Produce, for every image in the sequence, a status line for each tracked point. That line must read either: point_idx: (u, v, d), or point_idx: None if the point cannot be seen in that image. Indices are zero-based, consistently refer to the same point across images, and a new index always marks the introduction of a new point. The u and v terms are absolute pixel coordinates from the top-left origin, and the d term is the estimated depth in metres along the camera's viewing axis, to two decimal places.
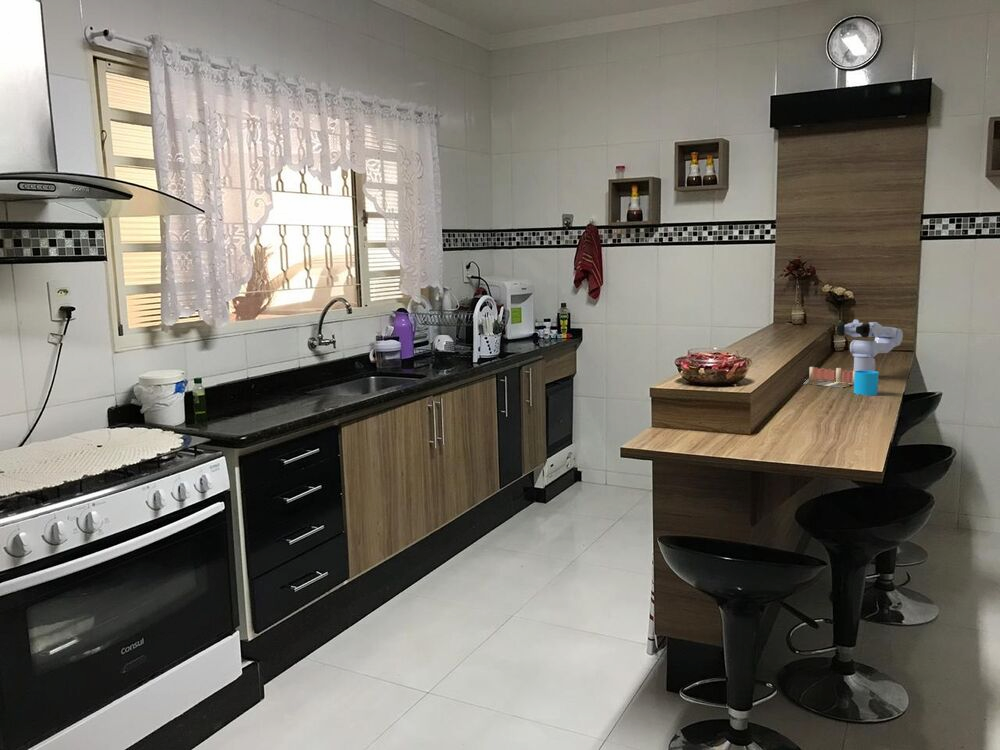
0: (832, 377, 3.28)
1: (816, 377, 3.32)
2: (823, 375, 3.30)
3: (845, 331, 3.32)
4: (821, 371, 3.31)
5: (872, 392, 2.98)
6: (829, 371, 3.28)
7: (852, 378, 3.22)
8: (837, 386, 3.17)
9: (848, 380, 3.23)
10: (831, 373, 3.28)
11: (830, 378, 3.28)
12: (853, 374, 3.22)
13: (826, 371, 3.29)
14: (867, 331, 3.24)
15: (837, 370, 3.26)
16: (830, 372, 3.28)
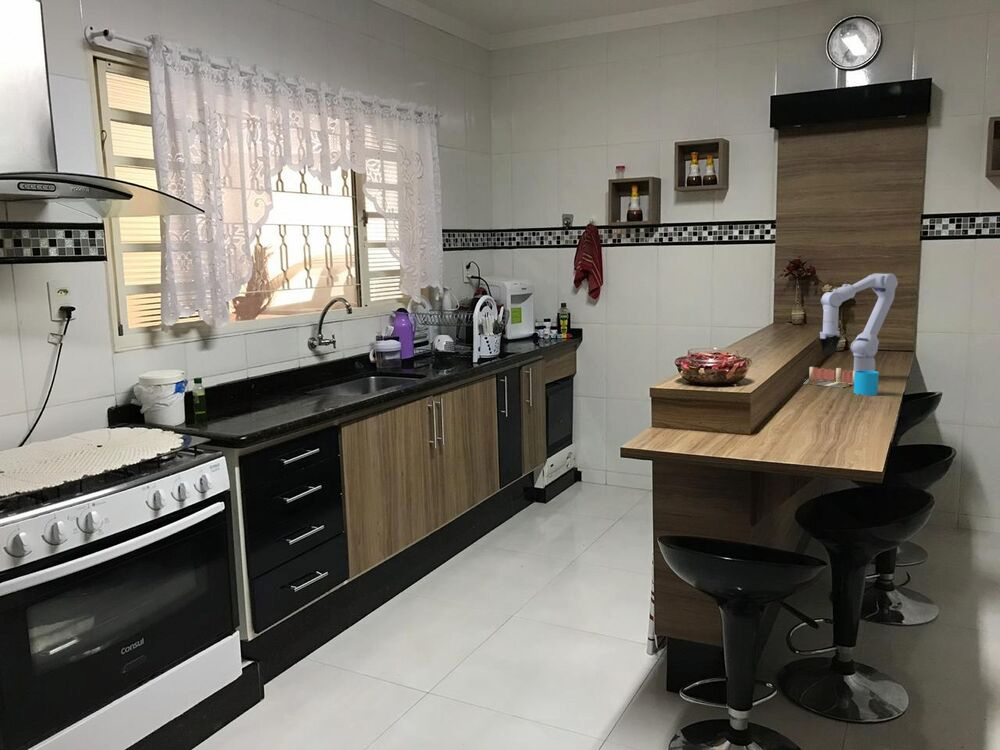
0: (832, 377, 3.28)
1: (816, 377, 3.32)
2: (823, 375, 3.30)
3: None
4: (821, 371, 3.31)
5: (872, 392, 2.98)
6: (829, 371, 3.28)
7: (852, 378, 3.22)
8: (837, 386, 3.17)
9: (848, 380, 3.23)
10: (831, 373, 3.28)
11: (830, 378, 3.28)
12: (853, 374, 3.22)
13: (826, 371, 3.29)
14: (826, 340, 3.29)
15: (837, 370, 3.26)
16: (830, 372, 3.28)
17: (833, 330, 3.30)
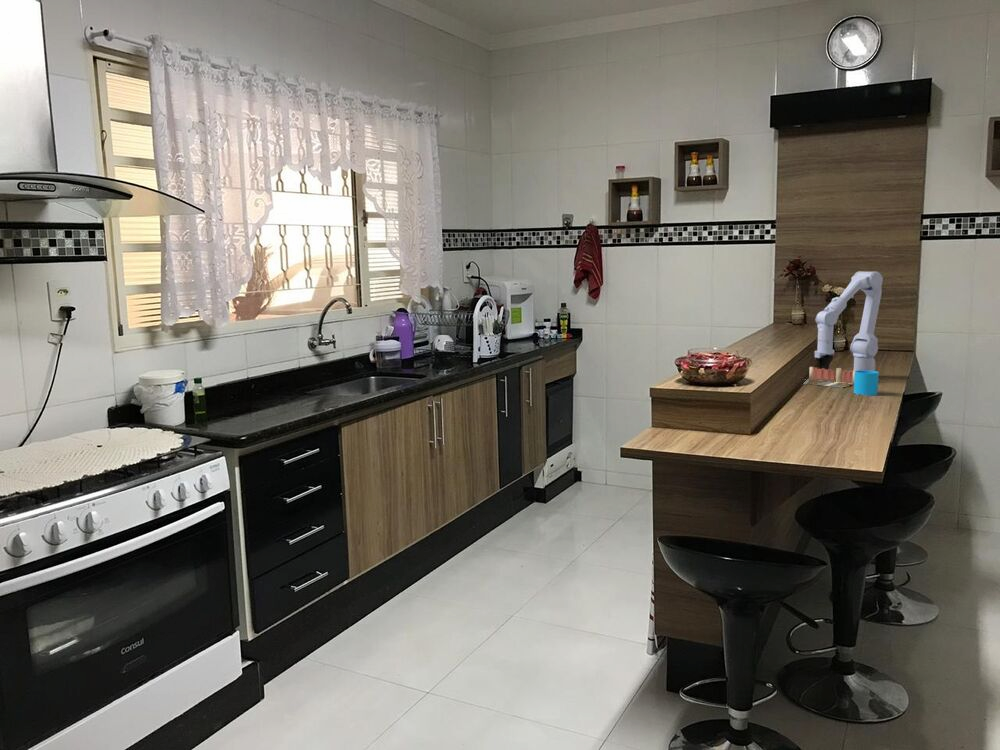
0: (832, 377, 3.28)
1: (816, 377, 3.32)
2: (823, 375, 3.30)
3: None
4: (821, 371, 3.31)
5: (872, 392, 2.98)
6: (829, 371, 3.28)
7: (852, 378, 3.22)
8: (837, 386, 3.17)
9: (848, 380, 3.23)
10: (831, 373, 3.28)
11: (830, 378, 3.28)
12: (853, 374, 3.22)
13: (826, 371, 3.29)
14: (823, 358, 3.30)
15: (837, 370, 3.26)
16: (830, 372, 3.28)
17: (828, 349, 3.28)
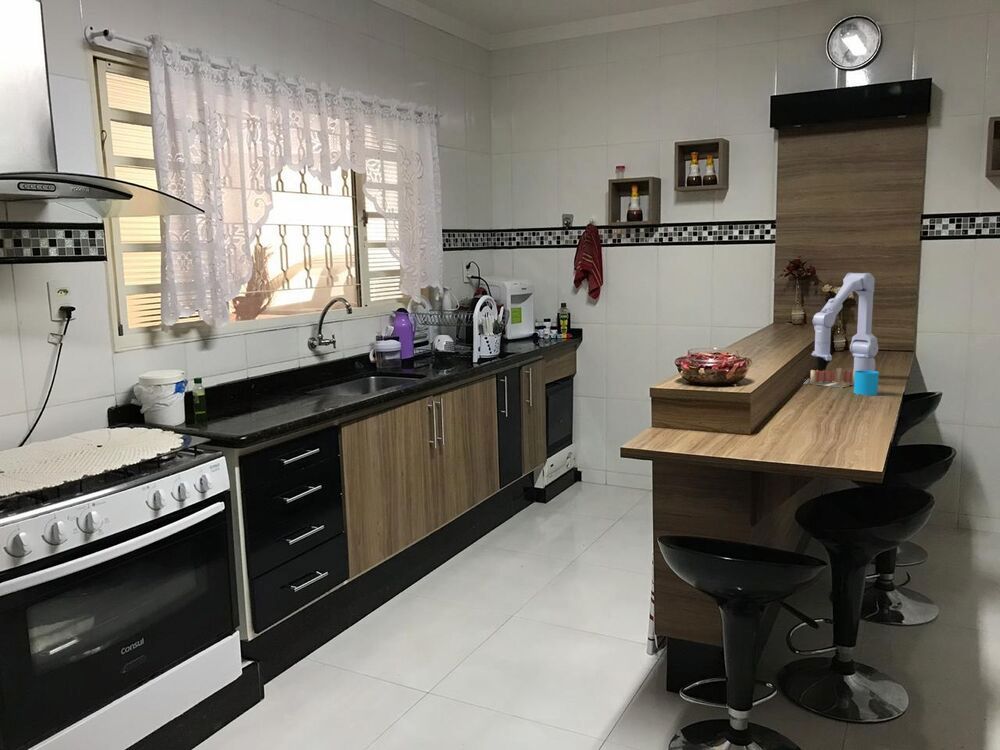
0: (834, 378, 3.26)
1: (819, 380, 3.25)
2: (825, 377, 3.25)
3: None
4: (823, 373, 3.25)
5: (872, 392, 2.98)
6: (831, 372, 3.25)
7: (852, 378, 3.22)
8: (837, 386, 3.17)
9: (848, 380, 3.23)
10: (833, 374, 3.26)
11: (832, 379, 3.26)
12: (853, 374, 3.22)
13: (828, 372, 3.25)
14: (824, 360, 3.25)
15: (837, 370, 3.26)
16: (832, 373, 3.25)
17: (829, 351, 3.24)
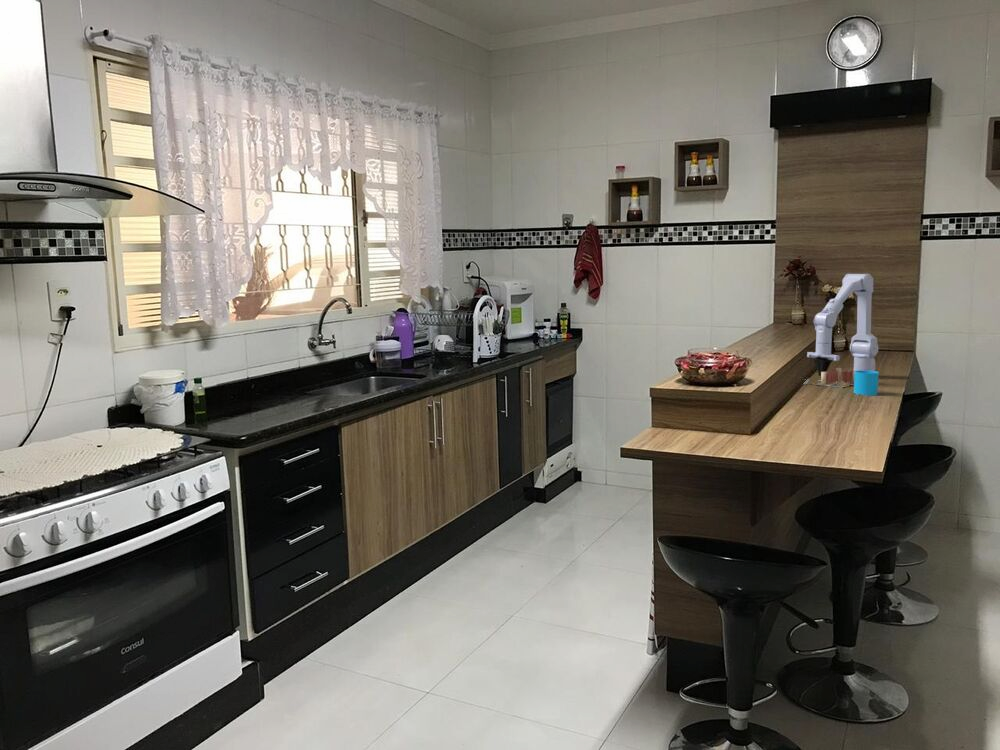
0: (836, 378, 3.25)
1: (827, 381, 3.21)
2: (831, 378, 3.23)
3: None
4: (831, 374, 3.22)
5: (872, 392, 2.98)
6: (835, 373, 3.24)
7: (852, 378, 3.22)
8: (837, 386, 3.17)
9: (848, 380, 3.23)
10: (836, 374, 3.24)
11: (835, 379, 3.25)
12: (853, 374, 3.22)
13: (833, 373, 3.23)
14: (828, 361, 3.22)
15: (837, 370, 3.26)
16: (835, 373, 3.24)
17: (830, 351, 3.22)
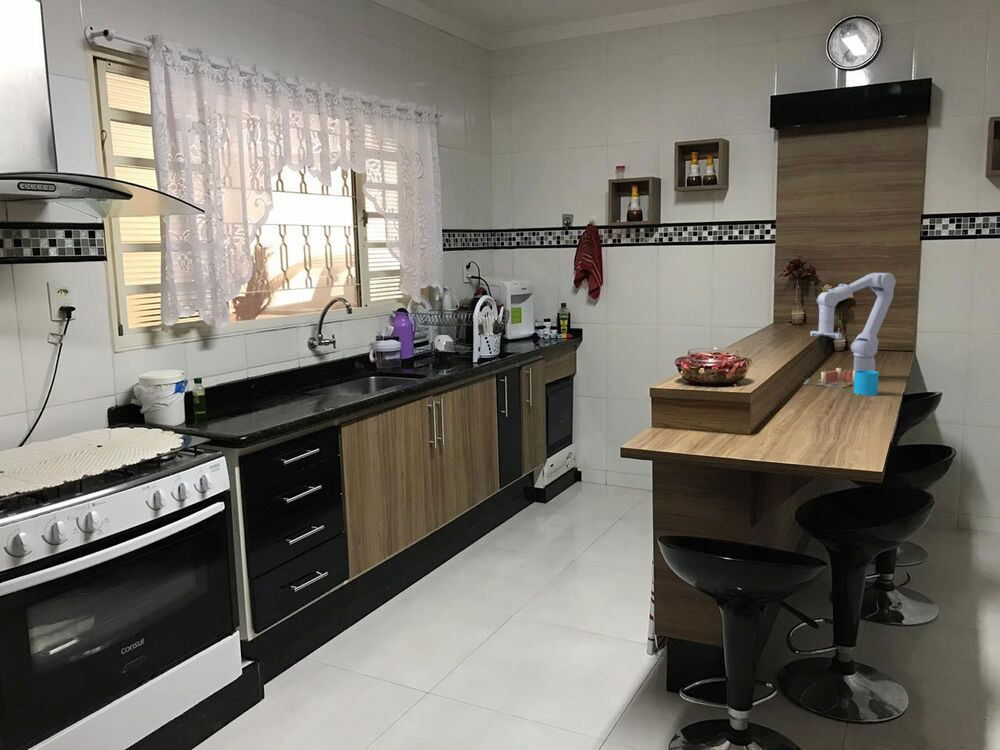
0: (836, 378, 3.25)
1: (827, 381, 3.21)
2: (831, 378, 3.23)
3: None
4: (831, 374, 3.22)
5: (872, 392, 2.98)
6: (835, 373, 3.24)
7: (852, 378, 3.22)
8: (837, 386, 3.17)
9: (848, 380, 3.23)
10: (836, 374, 3.24)
11: (835, 379, 3.25)
12: (853, 374, 3.22)
13: (833, 373, 3.23)
14: None
15: (837, 370, 3.26)
16: (835, 373, 3.24)
17: None
